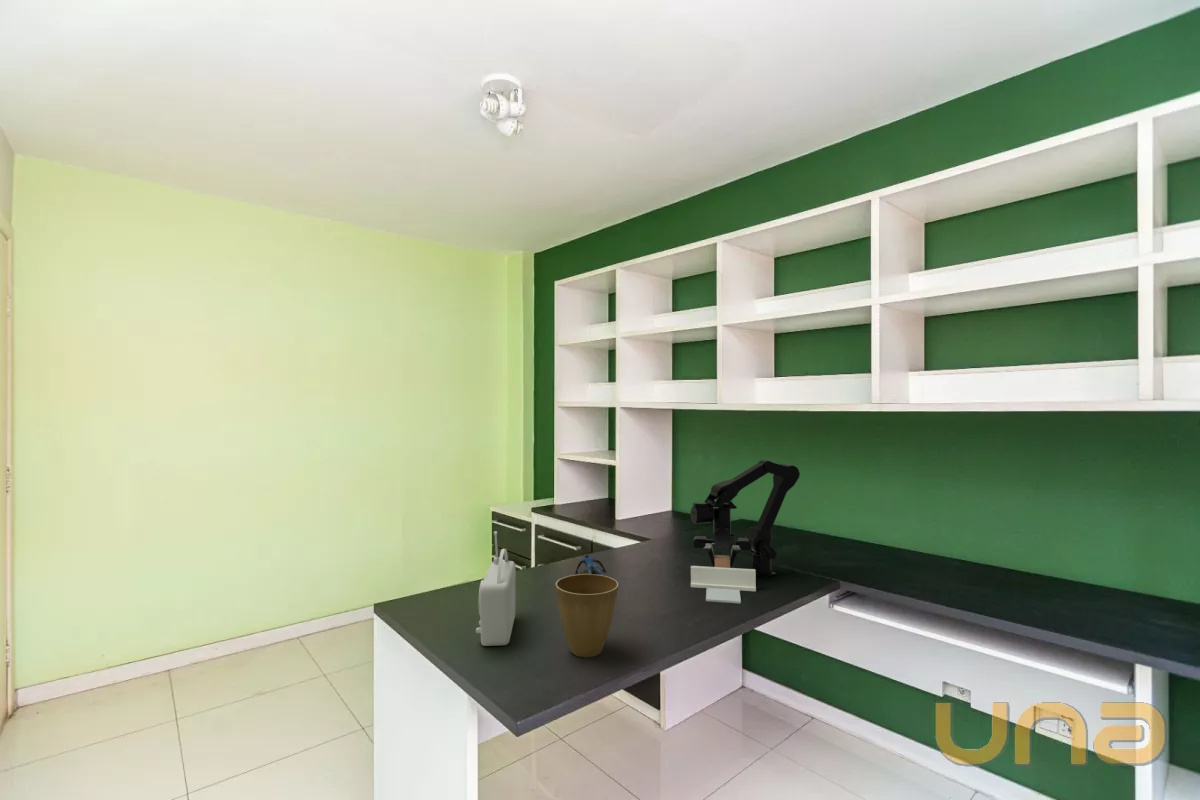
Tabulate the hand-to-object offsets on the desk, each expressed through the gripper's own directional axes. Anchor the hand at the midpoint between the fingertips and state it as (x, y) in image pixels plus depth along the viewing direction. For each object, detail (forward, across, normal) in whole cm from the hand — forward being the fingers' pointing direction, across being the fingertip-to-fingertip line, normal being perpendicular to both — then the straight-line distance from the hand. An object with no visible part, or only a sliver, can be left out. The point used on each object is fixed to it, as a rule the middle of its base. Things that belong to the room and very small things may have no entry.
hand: (722, 568), depth 182 cm
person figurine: (+3, -44, -6) cm, 44 cm away
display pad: (+3, 0, -18) cm, 19 cm away
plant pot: (+3, -32, -62) cm, 69 cm away
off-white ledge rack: (+3, 0, -10) cm, 10 cm away
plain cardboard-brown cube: (+1, 0, 0) cm, 1 cm away
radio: (+3, -57, -56) cm, 80 cm away
